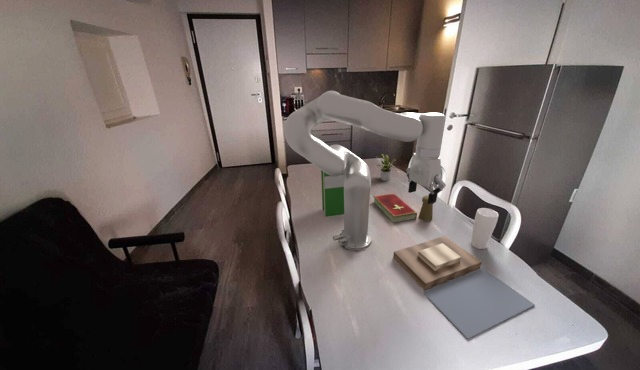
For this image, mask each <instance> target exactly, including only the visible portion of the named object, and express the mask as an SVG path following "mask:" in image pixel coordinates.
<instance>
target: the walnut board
mask: <svg viewBox="0 0 640 370" xmlns="http://www.w3.org/2000/svg"><path fill="white" fill-rule="evenodd" d="M442 243H443V244H444V245H446V246H447V247H448V248H450V249H451V250H453V251H454V252H455V253H457V254H458V255H459V256H461V260H460V262H457V263H455V264H452V265H449V266H446V267H444V268H441V269H438V270H436V271H434V270H433V269H432V268H431V267H430V266H429V265H428V264H427V263H425V262H424V261H423V260H422V259H421V258H420V257H419V256H418V251H421V250H424V249H427V248H430V247H433V246H436V245H439V244H442ZM392 259H393V261H395V262H396V263H397V264H398V265H399V266H400V267H401V268H402V269H403V270H404V271H405V273H407V274H408V276H410V277H411V278H412V280H413V281H414V282H415V283H416V284H417V285H418V286H419V287H420V288H421V289H422V290H423V291H426V290H429V289H431V288H434V287H436V286H439V285H441V284H444V283H446V282H449V281H452V280H454V279H457V278H459V277H462V276H464V275H467V274H469V273H472V272H474V271H477V270H479V269H481V265H482V262H483V261H481V260H480V259H478V257H476V256H474V255H473V254H471V253H470V252H469V251H467V250H466V249H464V248H463V247H461V246H460V245H458V244H457V243H456V242H454V241H453V240H451V239H450V238H448V237H447V236H446V235H443V236H440V237H435V238H433V239H430V240H428V241H423V242H420V243H418V244H415V245H412V246H408V247H405V248H402V249H398V250H397V251H393V255H392Z"/></svg>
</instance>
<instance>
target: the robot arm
mask: <svg viewBox="0 0 640 370" xmlns="http://www.w3.org/2000/svg"><path fill="white" fill-rule="evenodd" d="M327 120H329V121H333V122H334V121H335V122H337V123H341V124H346V125H350V126H352V127H357V128H360V129H363V130H365V131H367V132H370V133H374V134H376V135H379V136H381V137H384V138H389V139H393V140H397V141H401V142H406V143H407V142H408V143H410V142H414V141H416V145H415V152H413V155H412V158H411V160H410V167H407V168H405V171H406V176H407V181H408V191H407V192H408V193H409V194H410V193H415V192H416V191H417V186H418V185H420V186H422V187H424V188H428V189H429V192H428V195H429V197H428V204H432V203H434V204H435V203H436V202H437V199H438V193H439V194H440V192H442V191H443V189H445V187H446V183H445V182H444V180H442V179H441V168H442V167H441V166H442V164H441V163H442V162H441V157H440V156H441V150H442V143H443V139H444V130H445V126H446V125H445V124H446V116H445V114H443V113H440V112H426V113H418V112H408V111H407V112H401V113H397V112H394V111H390V110H387V109H384V108H382V107H380V106H378V105H376V104H374V103H373V102H371V101H368V100H365V99H359V98H356V97H352V96H347V95H345V94H340V92H338V91H336V90H327V91H325V92H324V93H322V94H320V95H319V96H318V97H317V98H315V99H313V100H312V101H309V102H308V103H307V104H305V105H303V106H300V108H298V109H297V110H294V111H293V112H292V113H290V114H289V115H288V116H287V119H286V120H285V123H284V130H283V131H284V137H285V141H286V142H287V144H288V146H289V147H290V148H291V149H292V150H293V151H294V152H295V153H297V154H298V155H300V156H301V157H303V158H305V159H306V160H307V161H308V162H309V163H311V164H312V165H314V166H315V167H317V168H318V169H319V170H320V171H321V170H322V171H324V172H325V173H326V174H328V175H330V176H333V177H337V176H340V175H341V174H343V175H344V176H345V178H344V214H343V229H342V230H341V232H340V233H339V234H336V235H333V236H332V239H333V240H332V241H338V243H339V244H341V245H342V246H343V247H345V248H347V249H349V250H355V251H357V250H358V251H360V250H361V251H362V250H364V249H367V248H368V247H369V246H370V245H371V244H372V243H371V242H372V237H371V235H370V233H369V216H370V215H369V214H370V197H371V196H370V195H371V188H372V179H371V171H370V167H369V165H368V164H367V163H366V162H365V161H364V160H363V159H361V158H360V157H359V156H357V155H356V154H355V153H353V152H352V151H350V150H349V149H348V148H346V147H345V146H342V145H340V144H331V145H328V144H327V143H325V142H324V141H323V140H321V139H320V138H318V137H316V136H313V134H312V133H311V131H312V129H313V128H315V127H316V126H318V125H319V124H322V123H323V122H325V121H327Z"/></svg>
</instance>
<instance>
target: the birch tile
mask: <svg viewBox="0 0 640 370" xmlns="http://www.w3.org/2000/svg"><path fill="white" fill-rule="evenodd" d="M418 256H419V257H420V258H421V259H422V260H423V261H424V262H425V263H427V264H428V265H429V266H430V267H431V268H432V269H433V270H434V271H436V270H438V269H441V268H444V267H446V266H449V265H452V264H455V263H457V262H460V260H461V256H459V255H458V254H457V253H455V252H454V251H453V250H451V249H450V248H448V247H447V246H446V245H444V244H443V243H442V244H439V245H436V246H433V247H430V248H427V249H424V250H421V251H418Z"/></svg>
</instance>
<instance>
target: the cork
mask: <svg viewBox="0 0 640 370" xmlns="http://www.w3.org/2000/svg"><path fill="white" fill-rule="evenodd" d="M428 197H429V194H428V195H424V196H422V198H421V201H422V204H421V208H420V211H419V215H418V218H419V219H420V220H421V221H424V222H431V221H432V220H433V217H434V216H433V207H434V204H435V203H432V204H428Z"/></svg>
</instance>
